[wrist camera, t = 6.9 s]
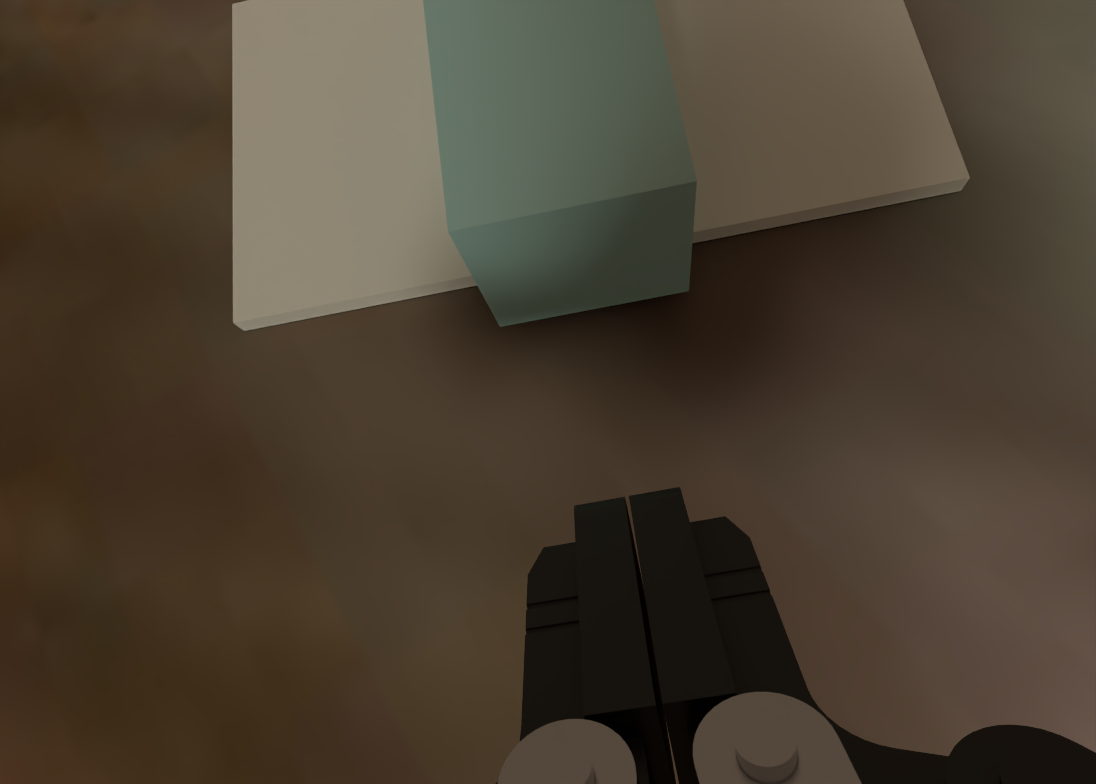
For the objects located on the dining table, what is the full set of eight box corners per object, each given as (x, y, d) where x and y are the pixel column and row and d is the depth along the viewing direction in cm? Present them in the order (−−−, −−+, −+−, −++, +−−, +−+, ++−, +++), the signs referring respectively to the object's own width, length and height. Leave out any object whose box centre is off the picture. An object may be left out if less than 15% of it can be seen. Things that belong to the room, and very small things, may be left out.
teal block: (448, 232, 15) (403, -182, 19) (499, 326, 20) (455, -20, 24) (696, 181, 14) (598, -233, 18) (688, 291, 19) (612, -57, 23)
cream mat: (244, 330, 21) (233, 323, 21) (242, 18, 25) (232, 4, 25) (961, 190, 20) (969, 177, 19) (844, -126, 23) (848, -145, 23)
